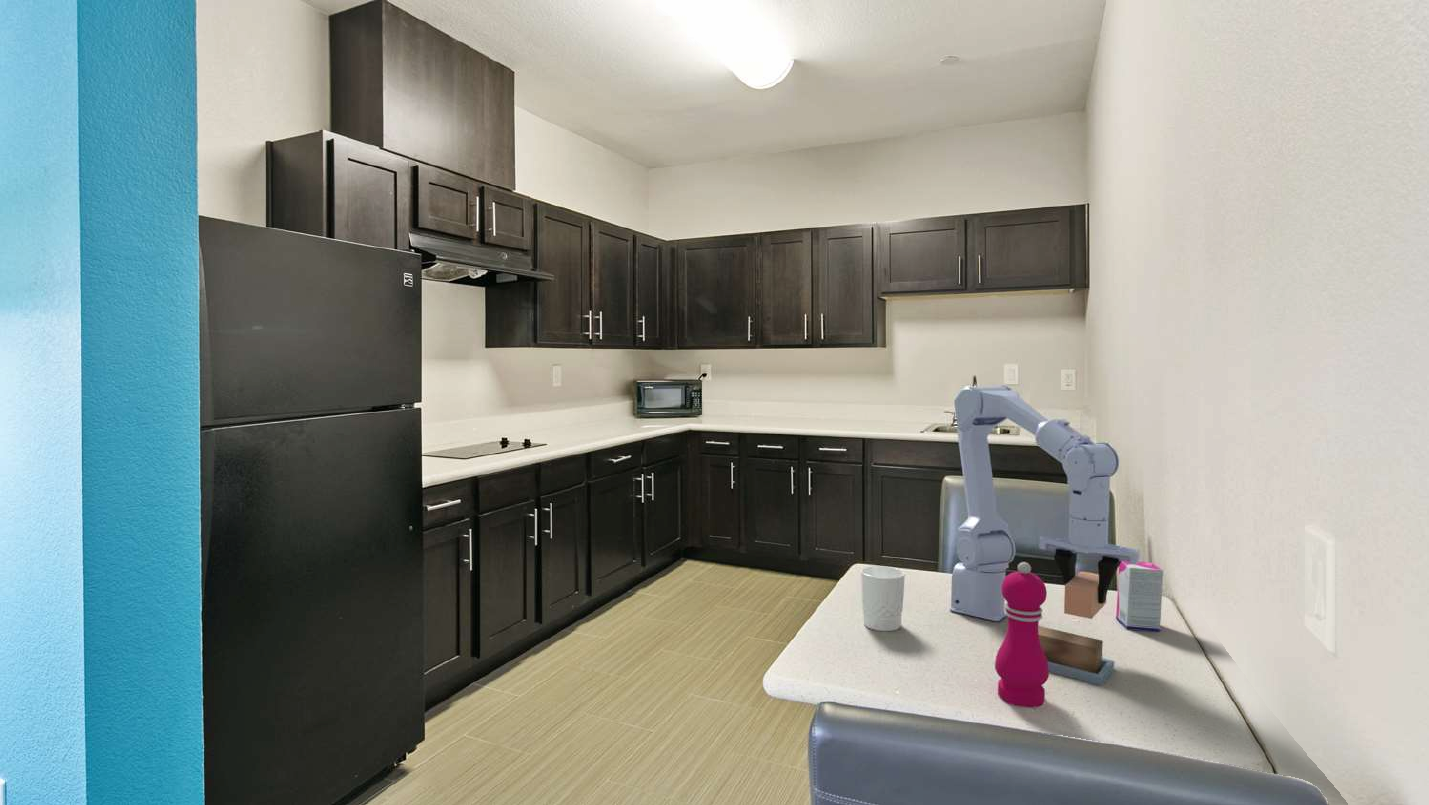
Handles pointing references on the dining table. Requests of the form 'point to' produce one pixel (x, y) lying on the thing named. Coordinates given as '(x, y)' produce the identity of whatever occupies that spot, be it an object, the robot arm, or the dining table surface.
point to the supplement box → (1139, 596)
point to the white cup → (882, 597)
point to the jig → (1084, 672)
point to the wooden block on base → (1071, 649)
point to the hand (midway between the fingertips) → (1086, 598)
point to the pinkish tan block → (1082, 595)
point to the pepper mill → (1022, 641)
